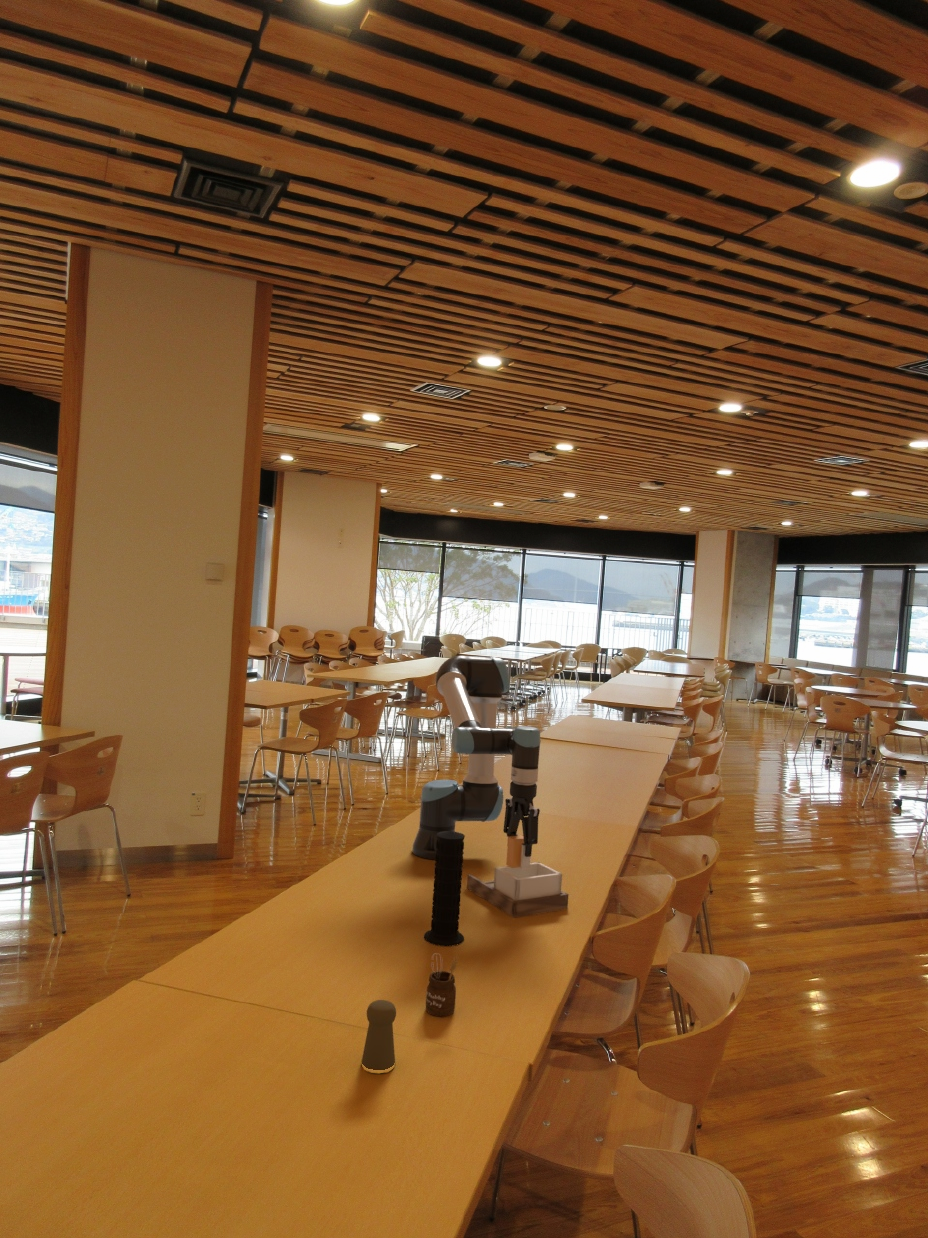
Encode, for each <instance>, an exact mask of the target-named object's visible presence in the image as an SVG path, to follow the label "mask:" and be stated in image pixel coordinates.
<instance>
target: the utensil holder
mask: <svg viewBox="0 0 928 1238" xmlns="http://www.w3.org/2000/svg"><path fill="white" fill-rule="evenodd" d="M437 955H439V958H440V961H441V963H443V962H444V961H443V959H441V958H442V956H441V954H440V953H439V952H435V953H433V954H432V955H431V958H430V959H434V957H436V958H435V959H436V961H438V956H437ZM459 957H460V956H459V955H457V956H455V957H453V958H452V961H451V964H450V967H449V971H444V970H443V969H444V968H443V964H440V969H439V970H438V969H436V971H435V968H434V965H433V963H431V964H430V965H431V967H432V968H431V969H432V973H430V974H429V979H428V982H429V983H428V984H427V987H426V995H425V1009H426V1012H427V1013H428V1014H429V1015H431V1016H434V1017H441V1018H442V1017H449V1016H451V1015H452V1014H453V1013H454V1011H455V1010H456V998H457V997H456V995H457V989H456V985H455V984H456V983H455V982H456V978H455V975H454V974H453V972H454V971H455V970H456V968H457V965H458V964H457V963H458V959H459ZM432 965H433V966H432ZM438 966H439V965H438V963H436V968H439V967H438Z"/></svg>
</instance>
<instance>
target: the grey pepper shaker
mask: <svg viewBox="0 0 928 1238" xmlns="http://www.w3.org/2000/svg"><path fill="white" fill-rule="evenodd" d="M396 1016H397V1008H396V1006H395V1004H394V1003H393V1002H391V1001H389V1000H386V999H377V1000H374V1001H372V1002H371V1003H369V1005H368V1007H367V1010H366V1019H367V1021H368V1028H367V1031H366V1037H365V1042H364V1047H363V1051H362V1058H361V1062H362V1064H363V1065H364V1066H365V1067H366V1068H368V1069H373V1070H385V1069H388V1068H390V1067H392V1066H393V1065H394V1063H395V1064H396V1054H395V1042H394V1041H395V1039H394V1027H393V1023H394V1022H395V1020H396Z"/></svg>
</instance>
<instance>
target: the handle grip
mask: <svg viewBox="0 0 928 1238" xmlns="http://www.w3.org/2000/svg"><path fill="white" fill-rule="evenodd" d="M465 837H466V836H465V834H464V833H462V832H459V831H455V832H454V831H443V832H439V833H437V843H436V848H437V850H436V858H435V859H434V860H435V863H434V866H435V867H434V876H433V879H434V881H433V890H432V891H433V894H432V908H431V923H430V927H431V928H430V929H429V930H427V931H426V932H425V933H424V934H423V938H424V941H425V942H427V943H429V944H431V945H434V944H435V946H438V945H440V947H453V946H452V945H455V946H458V945H461V944H463V943H464V941H465V935H464V934H462V933H461V932H460V931H459V926H460V924H459V923H460V922H459V920H460V913H461V912H460V911H461V909H460V907H461V900H462V899H461V893H462V891H461V889H462V880H463V878H462V877H463V863H464V849H465V842H464V840H465ZM457 944H458V945H457Z"/></svg>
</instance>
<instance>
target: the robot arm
mask: <svg viewBox="0 0 928 1238" xmlns="http://www.w3.org/2000/svg"><path fill="white" fill-rule="evenodd" d="M509 684H510V676H509V670H508V667H507V664H506V662H505V660H504V659H502V658H500V657H494V656H477V655H476V656H475V655H455V656H452V657H450V658H448V659H446V660H444V662H443V663H442V664H441V665H440V666H439V668H438V669H437V672H436V675H435V686H436V688H437V691H438V693H439V694H440V695H441V696H442V697H443V698H444V701H445V705H446V708H447V710H448V712H449V715H450V718H451V721H452V723H453V727H454V729H453V730H452V734H451V744H452V745H451V748H452V749H453V751H454V752H455V754H464V755H468V762H467V774H466V776H464V777H463V779H462V784H459V783H458V781H456V780H454V779H444V778H443V779H437V780H435V779H434V780H431V781H429V782H427V783H425V784H424V785H423V786H422V787H421V794H420V795H421V796H420V811H419V826H418V828H419V829H418V830H417V833H416V836H415V839H414V841H413V844H412V854H414V856H417V857H419V858H423V859H427V860H428V859H429V860H435V858H436V850H437V848H436V843H437V833H439V832H443V831H454V832H456V822H482V823H484V822H492V821H493V822H494V821H495V820H497V819H498V818H499V817H500V815H501V812H502V809H503V804H504V802H505V812H504V822H503V833H504V834H506V837H507V838H508V837H510V836H519V833H517V832H518V829H519V825H520V822H521V828H522V835H523V838H524V843H522V852H521V866H520V867H521V868H528V867H530V863H531V860H532V859H531V857H532V851H533V846H534V845H537V844H539V843H538V839H539V817H540V816H539V815H540V812H541V810H540V808H536V807H535V806H534V798H536V796H537V791H538V784H537V782H538V781H539V779H538V778H539V760H540V747H541V742H542V741H541V730H540V729H539V728H537V727H534V726H527V725H526V726H525V725H519V726H506V727H504V728H503V727H502V728H501V727H500V728H499V727H497V715H498V713H497V710H498V702H500V701H501V700H502V698H503V694H505V693H506V692H507V691H508V688H509V686H510V685H509ZM496 755H511V772H510V780H511V782H509V783H510V785H509V795H510V796H511V798H505V800H504V789H503V787H502V786H501V785H499V784H498V783H499V780H498V779H497V777H495V774H494V773H495V756H496ZM507 847H508V843H507Z"/></svg>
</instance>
